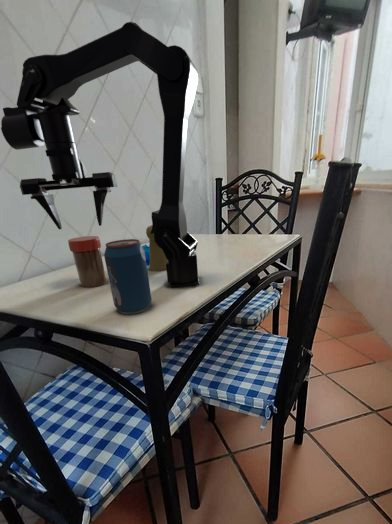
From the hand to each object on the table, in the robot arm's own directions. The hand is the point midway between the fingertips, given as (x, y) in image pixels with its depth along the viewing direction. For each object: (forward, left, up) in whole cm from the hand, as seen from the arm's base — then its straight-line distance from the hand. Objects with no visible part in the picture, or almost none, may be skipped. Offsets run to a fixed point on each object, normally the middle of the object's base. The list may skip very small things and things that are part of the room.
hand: (80, 227), depth 70 cm
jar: (0, 0, -13) cm, 13 cm away
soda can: (-12, +20, -13) cm, 27 cm away
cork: (-16, -10, -13) cm, 23 cm away
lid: (0, 0, -3) cm, 3 cm away
